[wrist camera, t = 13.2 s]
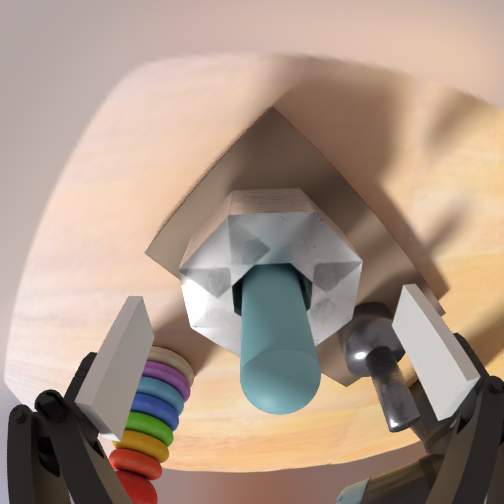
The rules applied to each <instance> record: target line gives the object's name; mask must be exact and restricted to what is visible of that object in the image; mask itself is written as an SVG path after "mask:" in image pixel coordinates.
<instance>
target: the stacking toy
mask: <svg viewBox="0 0 504 504" xmlns="http://www.w3.org/2000/svg"><path fill="white" fill-rule="evenodd" d="M193 381H194V372H193V369H192V367H191V366H190V364H189V363H188V362H187V361H186V360H185V359H184V358H183V357H181V356H180V355H178V354H176V353H175V352H173V351H170V350H168V349H165V348H161V347H155V346H152V347H151V350H150V352H149V355H148V358H147V361H146V364H145V367H144V370H143V372H142V375H141V378H140V381H139V384H138V387H137V390H136V393H135V397H134V400H133V403H132V406H131V409H130V412H129V416H128V419H127V422H126V425H125V429H124V432H123V435H122V439H121V442H119V441H114V440H113V445H114V447H115V448H116V450H114V451H112V452H111V454H110V456H109V462H110V464H111V466H112V467H113V468H114V469H116V470H117V471H116V472H115V473H116V475H117V477H118V479H119V480H120V482H121V484H122V486H123V487H124V489H125V491H126V492H127V494H128V496H129V497H130V499H131V500H132V502H133V504H157V494H156V491H155V489H154V487H153V485H152V484H151V483H150V481H148V480H156V479H158V478H159V477H160V476H161V474H162V467H161V465H160V463H163V462H165V461H166V460H167V459H168V457H169V451H168V448H167V447H168V446H170V445H171V443H172V442H173V433H172V432H173V431H174V430H175V429H176V428H177V426H178V424H179V417H178V416H179V415H180V414H181V413H182V411H183V407H184V403H185V402H186V401H187V400H188V398H189V396H190V387H191V386H192V384H193Z"/></svg>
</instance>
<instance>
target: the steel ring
mask: <svg viewBox="0 0 504 504" xmlns="http://www.w3.org/2000/svg"><path fill="white" fill-rule="evenodd" d="M277 263H291V264H292V265H293V266H294V267H295V268H297V269H298V271H297V272H296V274H297V277H298V281H299V285H300V289H301V292H302V296H303V300H304V304H305V308H306V312H307V316H308V320H309V324H310V328H311V332H312V336H313V340H314V344H315V346H317V345H318V344H320V343H321V342H322V341H324V340H325V339H326V338H328V337H329V336H331V335H332V334H333V333H335V332H336V331H337V330H339V329H340V328H341V327H343V326H344V325H345V324H346V323H348V322H349V321H350V320H352V316H353V312H354V307H355V302H356V297H357V291H358V286H359V280H360V275H361V269H362V263H363V261H362V259H361V258H360V256H359V255H358V253H357V252H356V250H355V249H354V247H353V246H352V245H351V243H350V242H349V240H348V239H347V237H346V236H345V234H344V233H343V232H342V230H341V229H340V228H339V227H338V226H337V225H336V224H335V223H334V222H333V221H332V220H331V219H330V218H329V217H328V216H327V215H326V214H325V213H324V212H323V211H322V210H321V209H320V208H319V207H318V206H317V205H316V204H315V203H314V202H313V201H312V200H311V199H310V198H309V197H308V196H307V195H306V194H305V193H304V192H303V191H302V190H301V189H300V188H283V189H253V190H233V191H232V192H231V193H230V194H229V195H228V197H227V198H226V199H225V200H224V201H223V202H222V203H221V204H220V205H219V206H218V207H217V209H216V210H215V211H214V212H213V213H212V214H211V215H210V216H209V217H208V219H207V220H206V221H205V222H204V223H203V224H202V225H201V226H200V228H199V229H198V230H197V231H196V232H195V233H194V234H193V235H192V237H191V240H190V242H189V244H188V247H187V249H186V252H185V254H184V257H183V259H182V261H181V264H180V266H179V269H178V271H179V275H180V280H181V285H182V290H183V295H184V299H185V304H186V309H187V313H188V318H189V322H190V327H191V328H192V329H194V330H196V331H197V332H199V333H200V334H202V335H203V336H205V337H207V338H208V339H210V340H212V341H213V342H215V343H216V344H218V345H220V346H221V347H223V348H225V349H226V350H228V351H230V352H231V353H233V354H235V355H236V356H238V357H240V358H241V323H242V288H243V277H242V276H243V275H244V274H245V273H246V272H247V271H248V270H249V269H250V268H252V267H253V266H254V265H255V264H277Z"/></svg>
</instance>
